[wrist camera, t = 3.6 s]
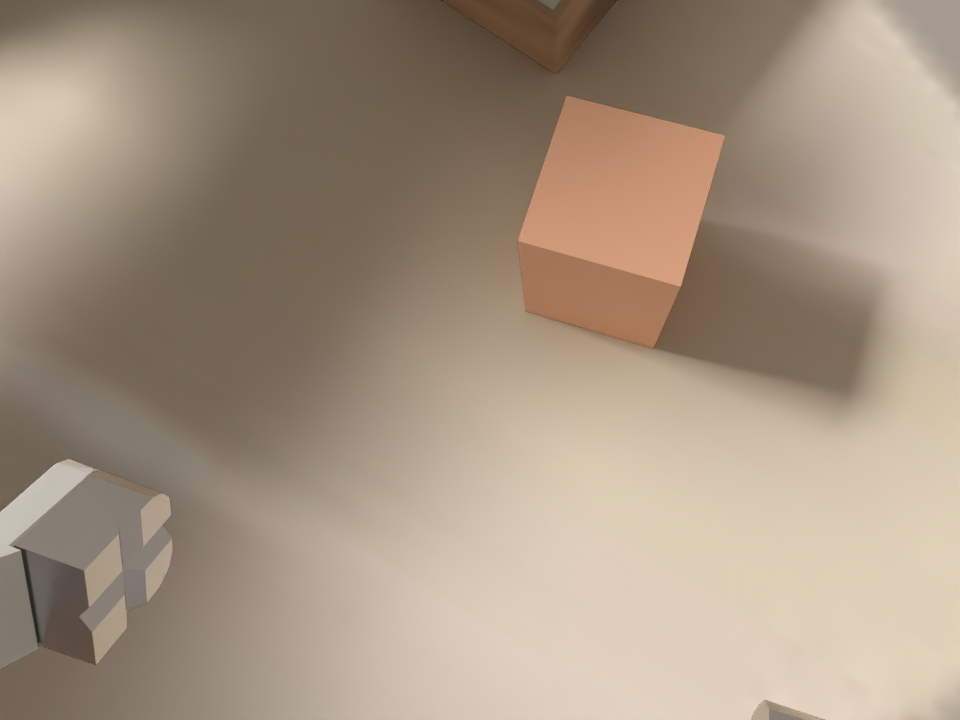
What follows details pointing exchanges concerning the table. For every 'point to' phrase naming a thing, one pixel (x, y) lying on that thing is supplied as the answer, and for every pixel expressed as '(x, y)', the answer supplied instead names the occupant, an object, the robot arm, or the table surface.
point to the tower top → (550, 3)
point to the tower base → (537, 25)
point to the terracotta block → (614, 219)
